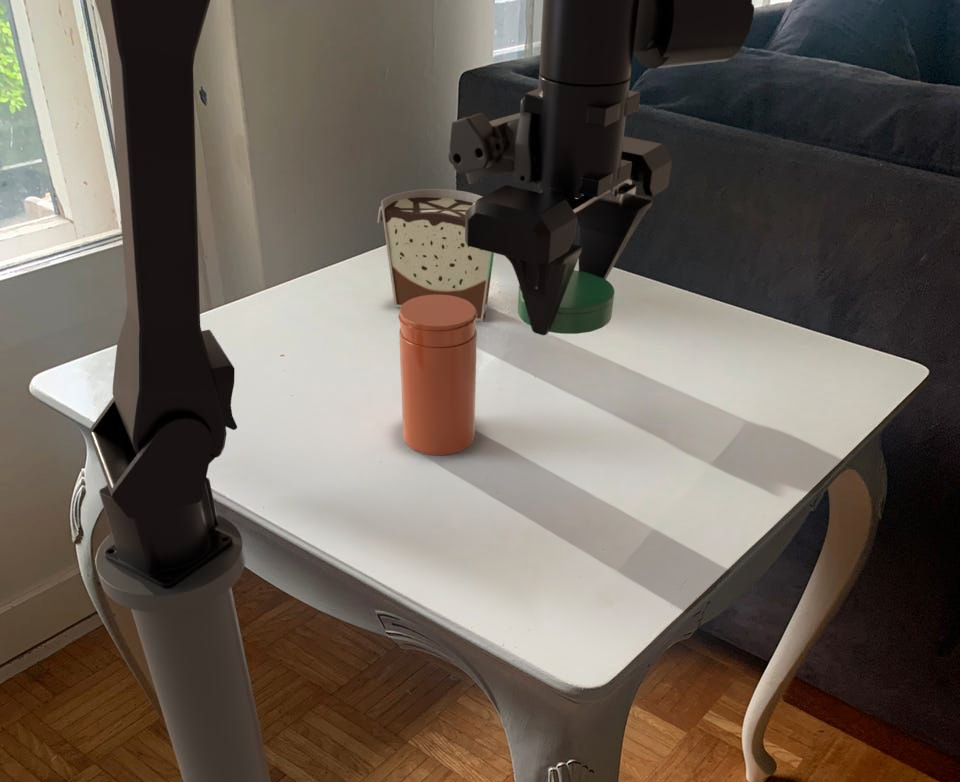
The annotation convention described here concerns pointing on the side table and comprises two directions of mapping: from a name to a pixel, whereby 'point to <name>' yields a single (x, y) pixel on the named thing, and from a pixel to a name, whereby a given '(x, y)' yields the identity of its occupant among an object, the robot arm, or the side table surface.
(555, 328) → the green cylinder
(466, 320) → the jar
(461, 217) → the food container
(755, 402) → the side table surface
